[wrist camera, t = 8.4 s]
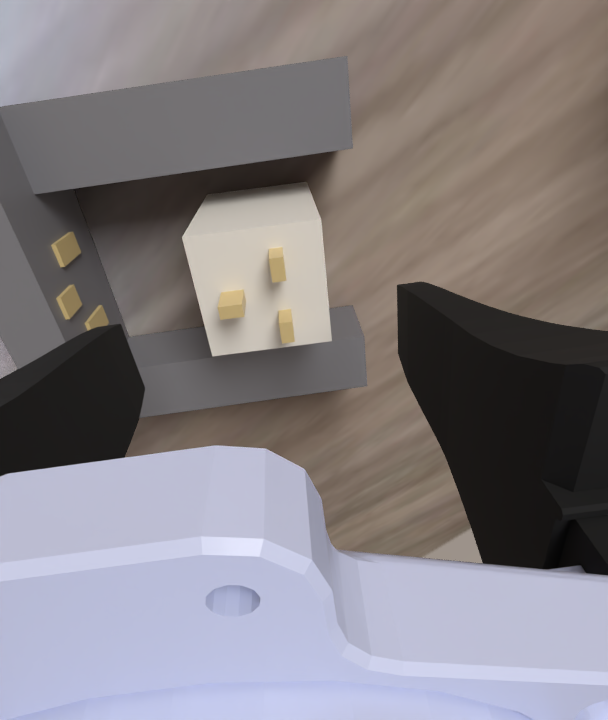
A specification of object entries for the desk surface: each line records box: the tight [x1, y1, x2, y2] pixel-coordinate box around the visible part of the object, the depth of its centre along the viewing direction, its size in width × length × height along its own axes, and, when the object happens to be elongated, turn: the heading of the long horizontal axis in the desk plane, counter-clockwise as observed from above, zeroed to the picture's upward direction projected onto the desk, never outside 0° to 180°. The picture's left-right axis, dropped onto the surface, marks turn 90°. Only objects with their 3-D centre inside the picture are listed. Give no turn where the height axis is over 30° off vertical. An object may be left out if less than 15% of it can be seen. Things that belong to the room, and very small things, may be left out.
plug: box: [182, 182, 332, 356], centre depth 16 cm, size 4×4×7 cm
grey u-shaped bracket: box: [0, 56, 367, 418], centre depth 17 cm, size 12×12×5 cm
